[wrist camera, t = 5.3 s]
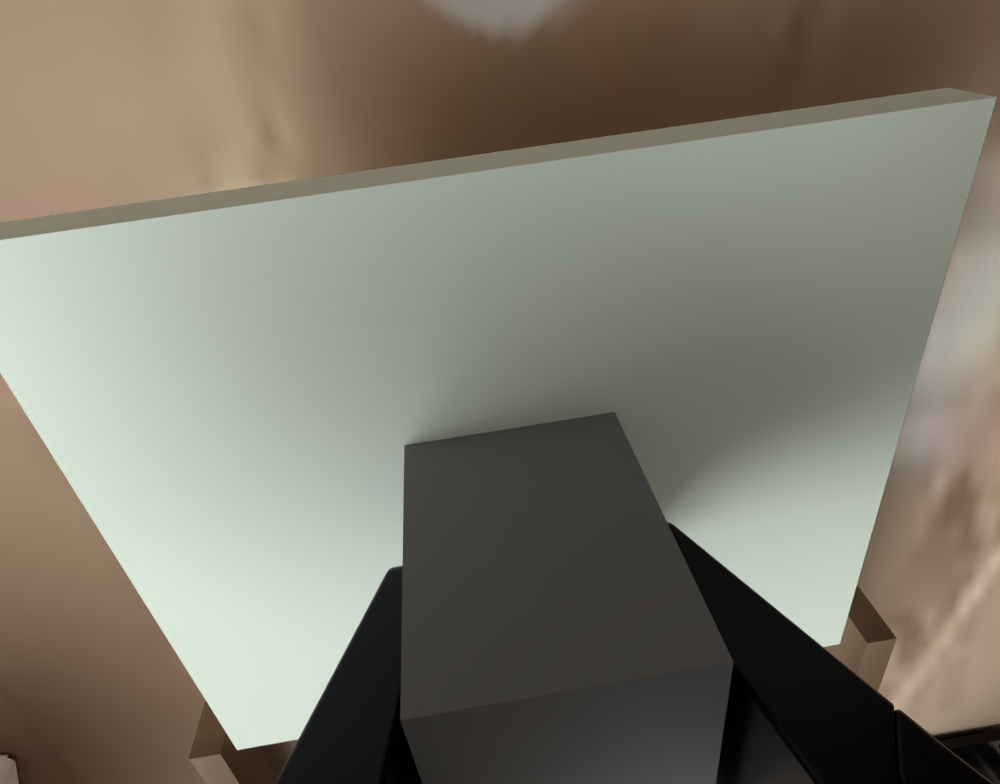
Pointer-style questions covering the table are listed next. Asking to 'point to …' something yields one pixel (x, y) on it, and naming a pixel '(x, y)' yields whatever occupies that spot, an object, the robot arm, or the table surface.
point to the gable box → (8, 770)
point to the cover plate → (501, 416)
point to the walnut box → (253, 771)
